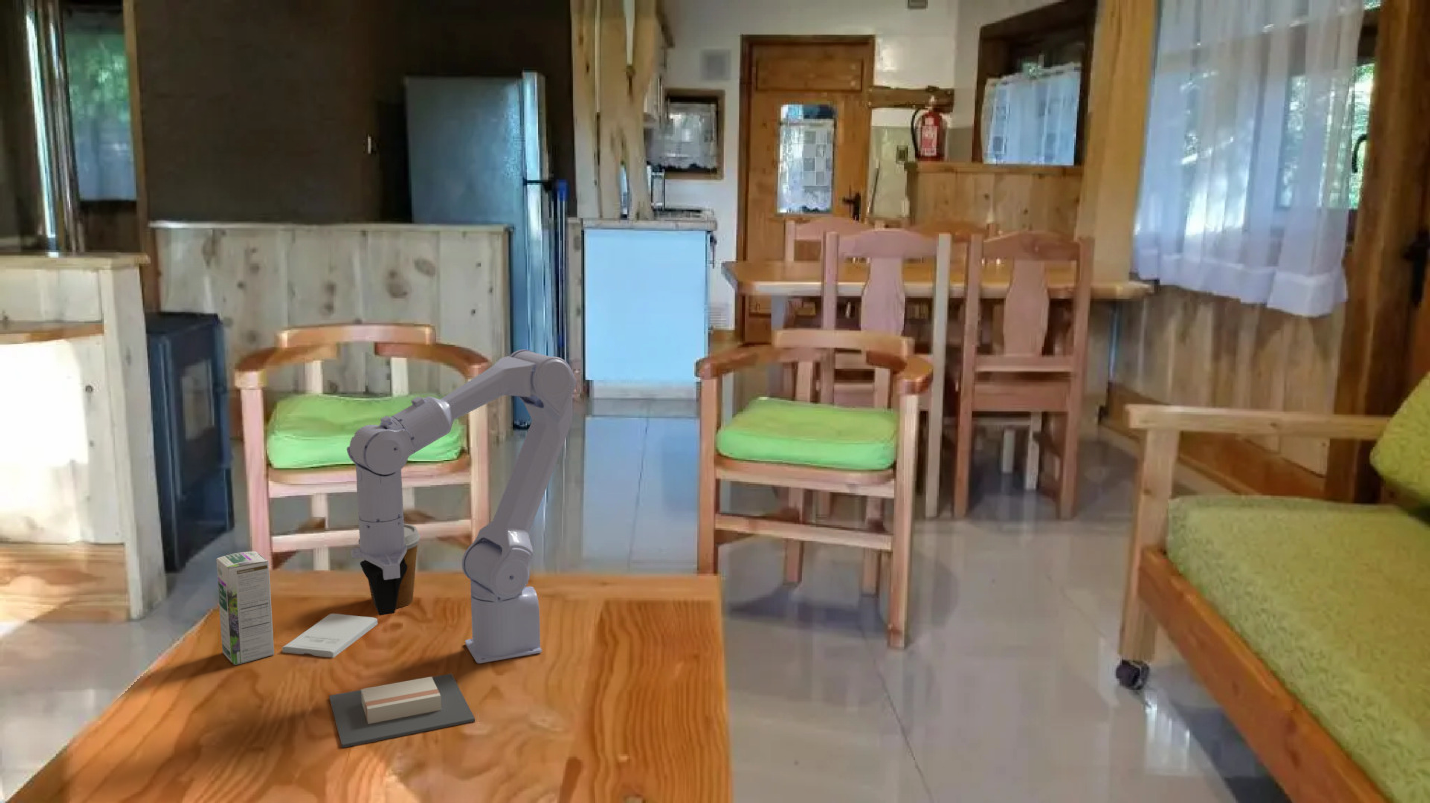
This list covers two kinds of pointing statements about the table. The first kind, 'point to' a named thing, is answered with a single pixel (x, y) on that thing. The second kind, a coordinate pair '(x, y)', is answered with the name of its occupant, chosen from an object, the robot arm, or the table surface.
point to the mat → (359, 731)
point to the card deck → (400, 699)
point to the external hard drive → (331, 635)
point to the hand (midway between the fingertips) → (386, 612)
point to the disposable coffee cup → (410, 559)
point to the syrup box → (245, 607)
